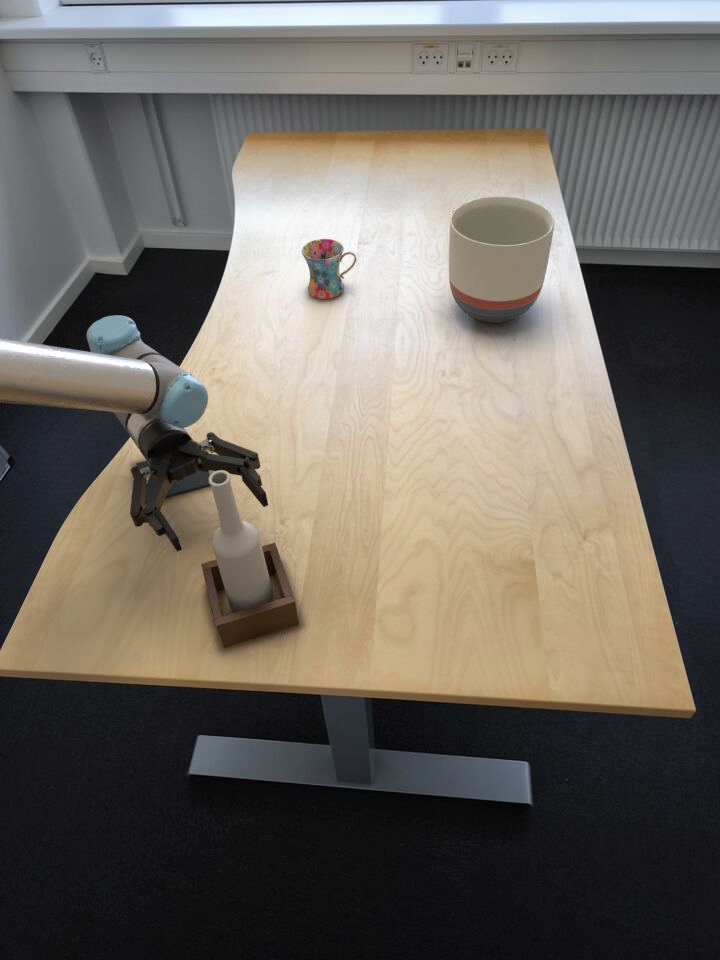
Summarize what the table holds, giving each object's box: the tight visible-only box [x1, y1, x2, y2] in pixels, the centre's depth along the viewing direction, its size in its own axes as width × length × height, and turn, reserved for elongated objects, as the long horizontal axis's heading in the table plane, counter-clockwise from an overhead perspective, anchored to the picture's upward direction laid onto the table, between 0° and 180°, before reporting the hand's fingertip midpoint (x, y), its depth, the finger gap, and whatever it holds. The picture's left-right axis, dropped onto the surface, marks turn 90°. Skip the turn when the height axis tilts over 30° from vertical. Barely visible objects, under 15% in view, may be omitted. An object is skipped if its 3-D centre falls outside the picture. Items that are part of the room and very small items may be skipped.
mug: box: [301, 238, 357, 300], centre depth 165 cm, size 12×9×11 cm
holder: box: [200, 542, 300, 649], centre depth 108 cm, size 11×11×6 cm
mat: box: [135, 460, 211, 504], centre depth 130 cm, size 12×10×1 cm
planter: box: [448, 195, 556, 324], centre depth 152 cm, size 20×20×21 cm
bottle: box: [209, 470, 276, 614], centre depth 100 cm, size 7×7×28 cm
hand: (222, 521), depth 102 cm, fingers open, 13 cm apart
